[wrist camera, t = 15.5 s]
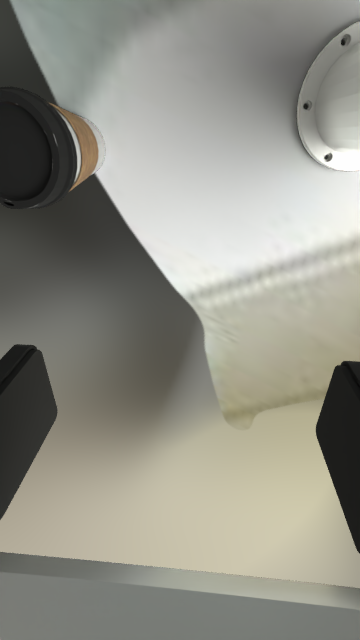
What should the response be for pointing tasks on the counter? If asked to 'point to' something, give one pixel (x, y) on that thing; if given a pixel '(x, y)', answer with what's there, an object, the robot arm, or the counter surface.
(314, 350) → the counter surface
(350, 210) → the counter surface
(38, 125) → the coffee cup
